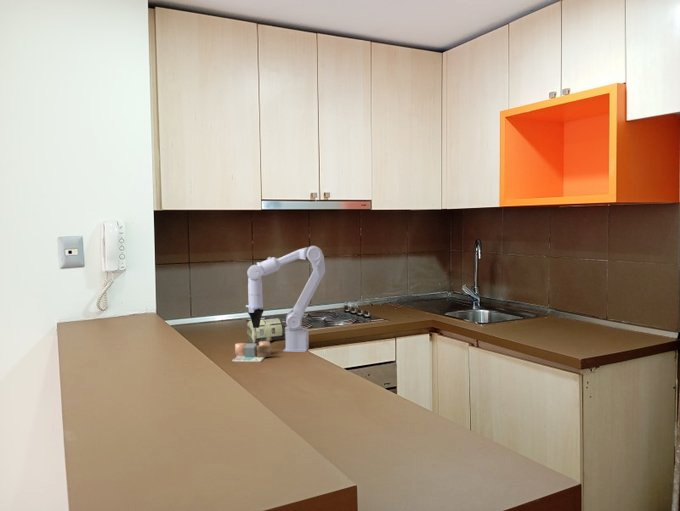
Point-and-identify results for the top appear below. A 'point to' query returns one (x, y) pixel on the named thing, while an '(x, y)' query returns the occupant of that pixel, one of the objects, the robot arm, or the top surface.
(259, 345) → the peach rounded cylinder
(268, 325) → the coffee can
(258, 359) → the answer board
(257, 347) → the walnut block
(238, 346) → the peach glossy domed part
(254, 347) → the matte grey cube
